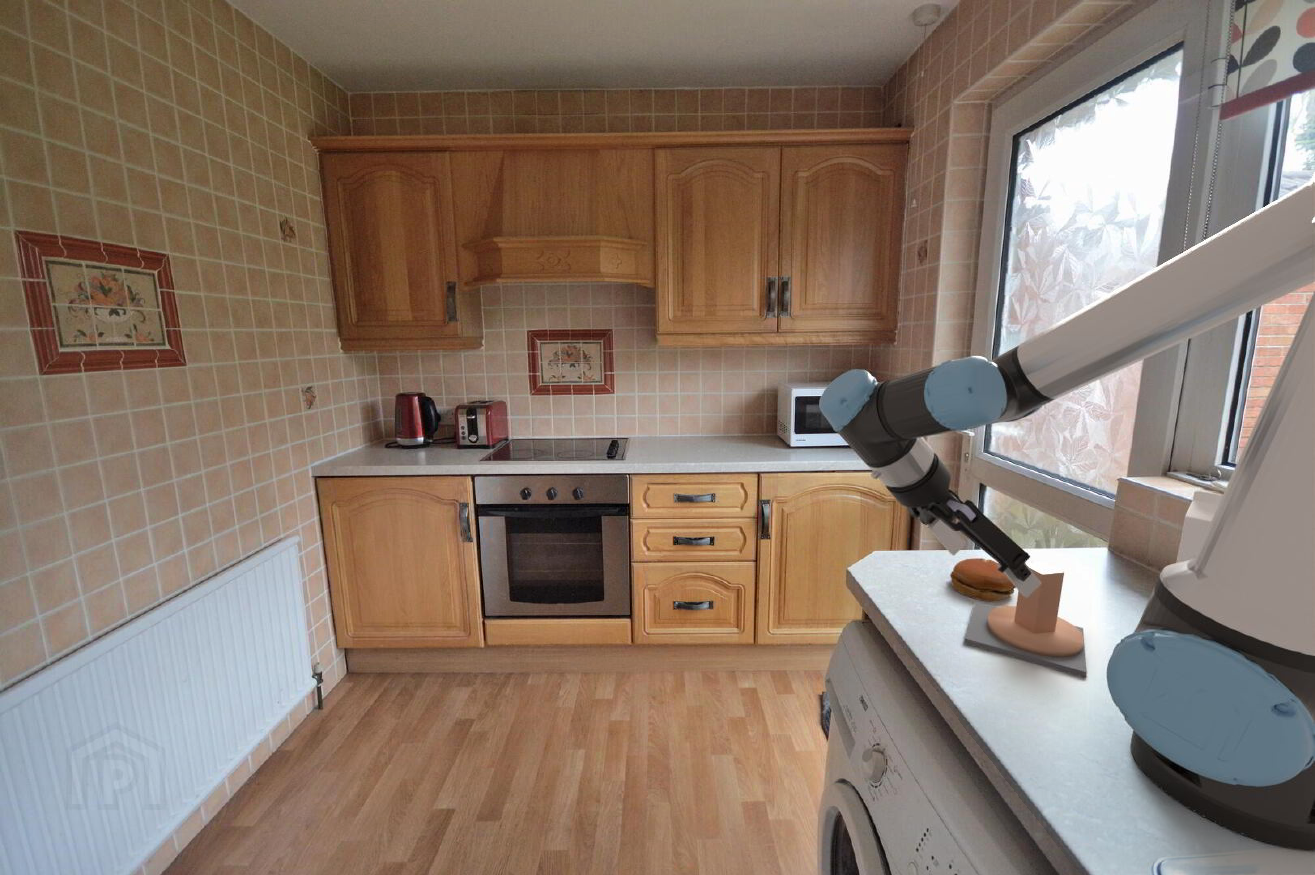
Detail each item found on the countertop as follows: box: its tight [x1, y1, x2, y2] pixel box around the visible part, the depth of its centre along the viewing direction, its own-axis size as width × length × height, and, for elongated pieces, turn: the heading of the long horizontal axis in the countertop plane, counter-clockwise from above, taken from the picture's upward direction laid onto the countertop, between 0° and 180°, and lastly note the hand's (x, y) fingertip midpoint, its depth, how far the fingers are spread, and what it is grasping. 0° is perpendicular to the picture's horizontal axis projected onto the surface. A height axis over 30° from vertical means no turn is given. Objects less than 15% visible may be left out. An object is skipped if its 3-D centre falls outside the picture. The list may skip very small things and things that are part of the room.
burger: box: [949, 557, 1017, 602], centre depth 97 cm, size 10×9×5 cm
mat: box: [963, 601, 1088, 679], centre depth 82 cm, size 13×14×1 cm
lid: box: [987, 561, 1085, 657], centre depth 81 cm, size 12×12×10 cm
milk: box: [1175, 490, 1223, 563], centre depth 79 cm, size 6×6×22 cm
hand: (992, 567), depth 80 cm, fingers open, 13 cm apart
